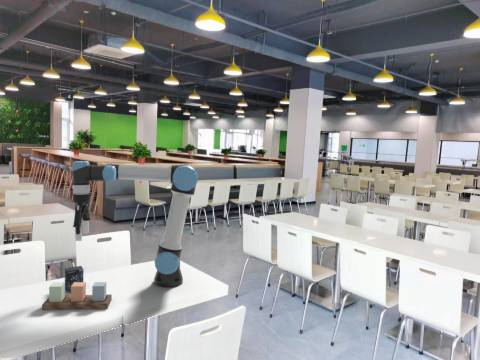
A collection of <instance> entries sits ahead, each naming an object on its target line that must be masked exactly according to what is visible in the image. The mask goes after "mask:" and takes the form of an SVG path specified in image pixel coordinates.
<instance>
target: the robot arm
mask: <svg viewBox="0 0 480 360" xmlns="http://www.w3.org/2000/svg"><path fill="white" fill-rule="evenodd" d="M71 173H72V176H71V177H72V186H71V189H72V193H73V194H72V202H73V203H77V205H75V206H74V218H73V225H72V228H74V234H75V236H74V237H75V242H82V241H83V236H82V235H88V234H90V229H89V227H90V226H89V225H90V223H89V222H90V221H91V218H90V211H89V202H90V201H91V194H90V192H91V185H90V182H107V183H109V182H115V181H116V180H128V181H129V180H130V181H131V180H132V181H133V180H134V181H135V180H136V181H150V182H151V181H152V182H155V181H156V182H168V183H170V184H171V186H170V192H171V193H172V197H171V201H170V207H169V210H168V216H167V218H166V219H167V221H166V224H165V229H164V233H163V238H162V239H160V240H159V241H158V244H157V253H156V257H155V259H154V267H155V269H156V271H155V275H154V278H153V283H154V285H155V286H157V287H163V288H173V287H176V286H180V285H182V284H183V283H184V282H183V280H184V277H183V274H182V270H181V256H182V250H183V246H182V245H181V241H182V236H183V232H184V227H185V222H186V219H187V213H188V209H189V205H190V200H191V197H193V196H194V195H195V191H196V186H197V184H198V181H199V174H198V172H197V170H196V168H195V167H194V166H193V165H191V164H186V163H184V164H170V165H169V166H162V165H161V166H160V165H159V166H158V165H140V164H139V165H134V164H113V163H106V164H103V165H93V164H92V165H91V164H90V162H89V161H87V160H75V161H73V162H72V168H71Z"/></svg>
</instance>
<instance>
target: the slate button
mask: <svg viewBox="0 0 480 360" xmlns="http://www.w3.org/2000/svg"><path fill="white" fill-rule="evenodd" d="M91 287H92V288H91V291H92V293H91V295H92V301H104V300H105V298H106V295H107V281H95V282H94V283H93V284H92V286H91Z"/></svg>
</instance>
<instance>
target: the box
mask: <svg viewBox="0 0 480 360" xmlns="http://www.w3.org/2000/svg"><path fill="white" fill-rule="evenodd" d="M84 269H85V268H83V266H82V265H78V266H72V267H71V266H69V267H65V268H64V282H65V293H68V292H71V286H72V285H73V283H74V282H84Z"/></svg>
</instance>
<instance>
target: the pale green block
mask: <svg viewBox="0 0 480 360" xmlns="http://www.w3.org/2000/svg"><path fill="white" fill-rule="evenodd" d="M48 290H49V291H48V293H49V294H48V297H49V302H52V303H54V302H62V300H63V299H64V298H65V295H66V290H65V281H64V282H63V281H61V282H52V283H51V284H50V285H49V288H48Z"/></svg>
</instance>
